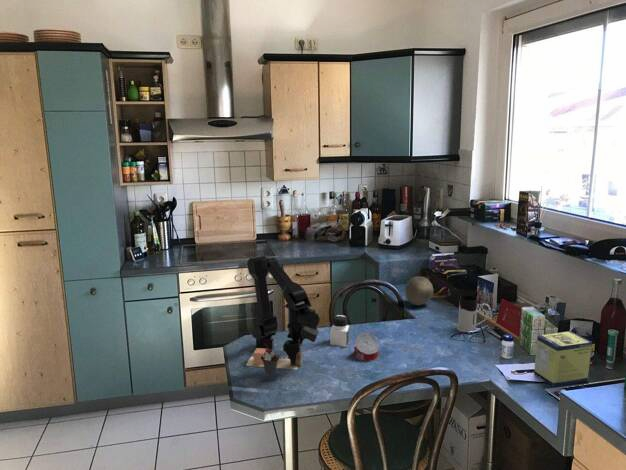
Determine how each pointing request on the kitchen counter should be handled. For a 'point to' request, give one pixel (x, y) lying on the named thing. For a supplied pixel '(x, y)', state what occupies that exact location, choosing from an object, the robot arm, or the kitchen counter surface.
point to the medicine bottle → (339, 331)
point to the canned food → (366, 347)
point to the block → (258, 355)
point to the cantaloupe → (418, 290)
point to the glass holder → (468, 313)
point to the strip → (281, 362)
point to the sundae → (270, 362)
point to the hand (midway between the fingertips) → (296, 359)
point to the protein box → (562, 358)
